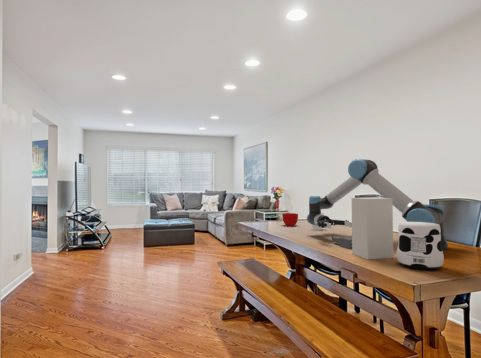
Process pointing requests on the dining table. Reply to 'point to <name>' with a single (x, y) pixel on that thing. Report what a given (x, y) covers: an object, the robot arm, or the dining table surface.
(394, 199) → the robot arm
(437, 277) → the dining table surface
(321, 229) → the foam cup
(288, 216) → the ceramic cup
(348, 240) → the plug
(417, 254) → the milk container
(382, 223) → the pillar
